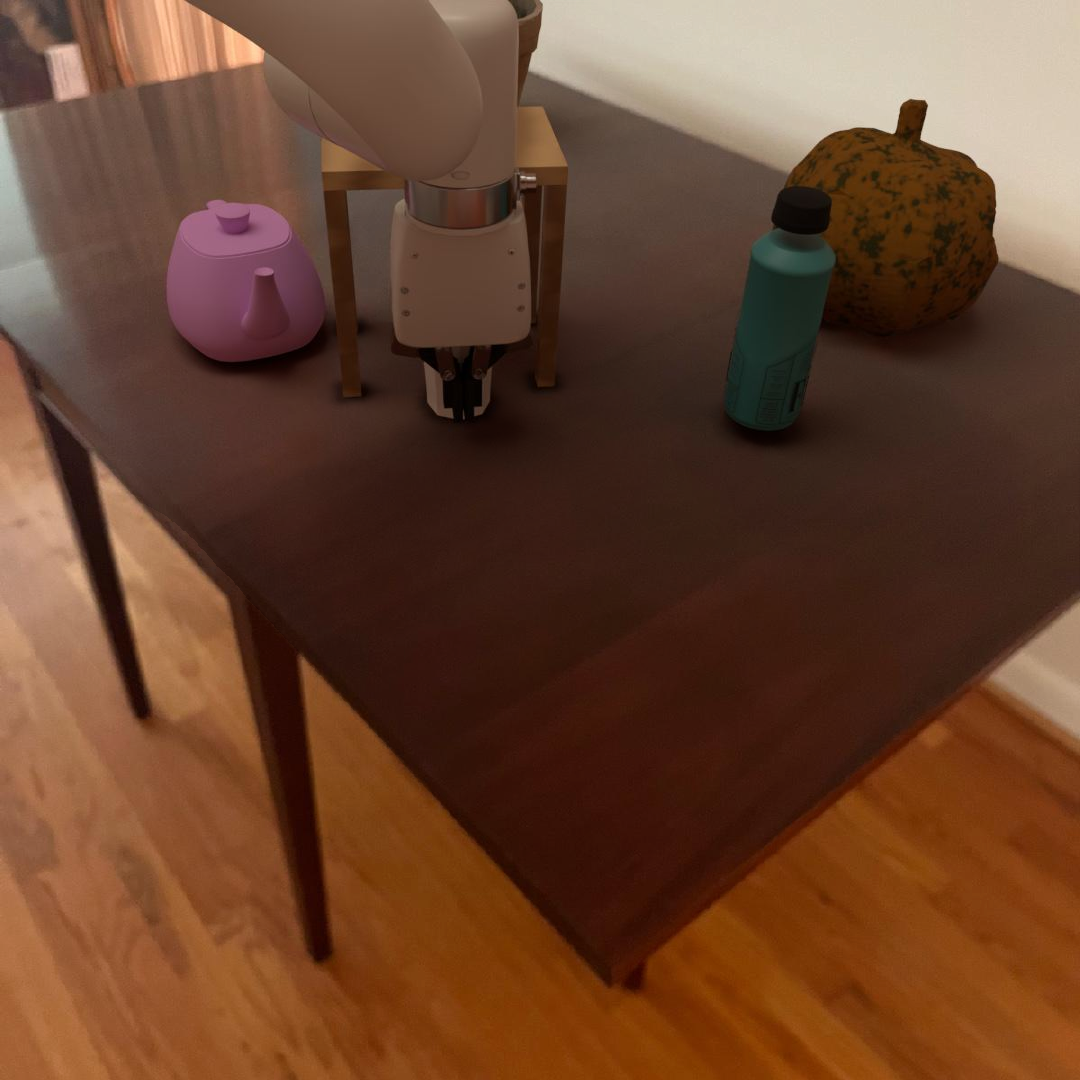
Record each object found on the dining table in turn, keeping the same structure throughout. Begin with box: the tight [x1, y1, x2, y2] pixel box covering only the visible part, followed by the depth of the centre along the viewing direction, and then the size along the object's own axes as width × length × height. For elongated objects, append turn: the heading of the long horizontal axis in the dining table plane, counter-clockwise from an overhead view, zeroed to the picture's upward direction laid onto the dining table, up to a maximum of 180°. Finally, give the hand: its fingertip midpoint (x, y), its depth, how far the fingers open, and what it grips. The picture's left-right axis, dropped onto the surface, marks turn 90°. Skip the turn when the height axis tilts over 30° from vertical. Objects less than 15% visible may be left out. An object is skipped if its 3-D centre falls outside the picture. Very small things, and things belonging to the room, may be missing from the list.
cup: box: [423, 346, 493, 420], centre depth 85 cm, size 7×7×11 cm
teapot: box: [166, 199, 326, 363], centre depth 90 cm, size 20×13×12 cm, turn 27°
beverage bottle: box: [722, 186, 836, 432], centre depth 81 cm, size 6×7×20 cm
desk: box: [320, 106, 569, 398], centre depth 87 cm, size 18×12×20 cm, turn 99°
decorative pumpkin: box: [771, 98, 999, 339], centre depth 97 cm, size 20×21×20 cm
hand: (462, 412), depth 84 cm, fingers closed
